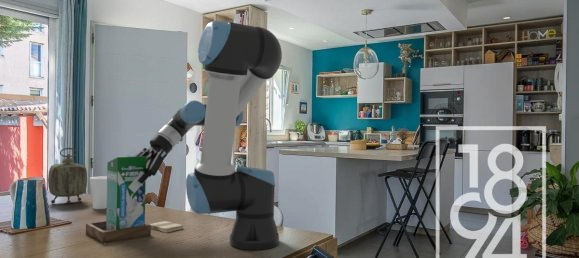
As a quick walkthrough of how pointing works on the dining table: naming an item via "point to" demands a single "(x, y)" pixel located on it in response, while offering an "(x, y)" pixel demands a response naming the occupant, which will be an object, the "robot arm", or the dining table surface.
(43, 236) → the dining table surface
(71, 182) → the tabletop clock
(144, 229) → the tray
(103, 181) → the foam cup
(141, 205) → the milk carton
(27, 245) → the dining table surface
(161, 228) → the beech board
